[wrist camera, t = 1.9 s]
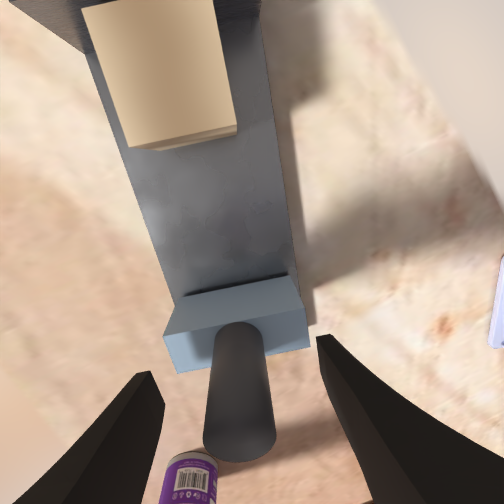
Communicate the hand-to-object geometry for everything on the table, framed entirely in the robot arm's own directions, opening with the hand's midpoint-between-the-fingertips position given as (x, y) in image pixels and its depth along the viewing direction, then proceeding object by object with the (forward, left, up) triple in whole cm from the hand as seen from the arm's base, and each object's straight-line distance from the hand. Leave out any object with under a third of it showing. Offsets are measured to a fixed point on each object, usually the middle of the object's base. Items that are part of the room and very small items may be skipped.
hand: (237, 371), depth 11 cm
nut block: (0, -11, -6) cm, 13 cm away
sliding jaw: (0, 0, -5) cm, 5 cm away
